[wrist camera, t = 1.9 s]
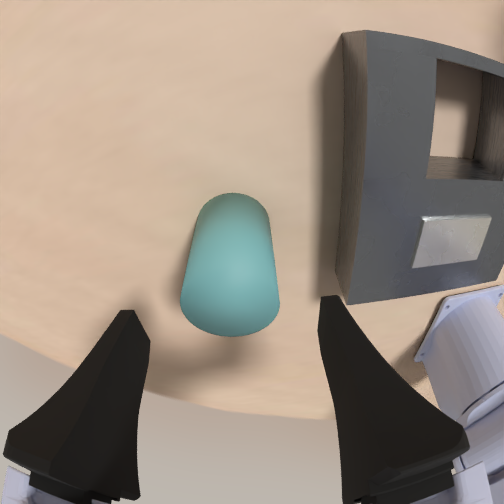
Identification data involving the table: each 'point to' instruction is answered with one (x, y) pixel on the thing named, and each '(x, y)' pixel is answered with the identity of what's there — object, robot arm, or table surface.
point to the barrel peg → (231, 268)
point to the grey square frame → (415, 175)
